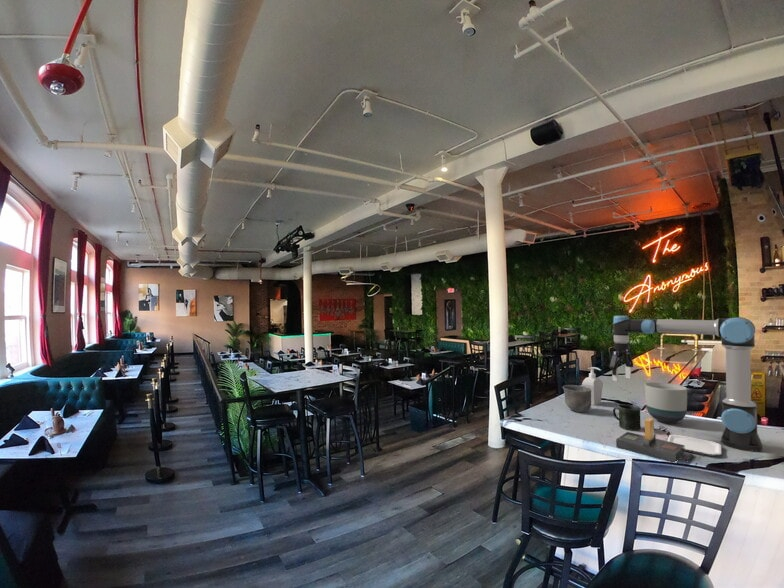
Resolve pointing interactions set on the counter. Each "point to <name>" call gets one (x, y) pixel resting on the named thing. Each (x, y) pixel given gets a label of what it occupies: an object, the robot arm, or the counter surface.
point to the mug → (628, 417)
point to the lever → (649, 429)
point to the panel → (651, 447)
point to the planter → (666, 401)
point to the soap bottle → (594, 386)
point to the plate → (697, 445)
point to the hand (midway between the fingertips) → (621, 379)
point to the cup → (577, 397)
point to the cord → (689, 457)
